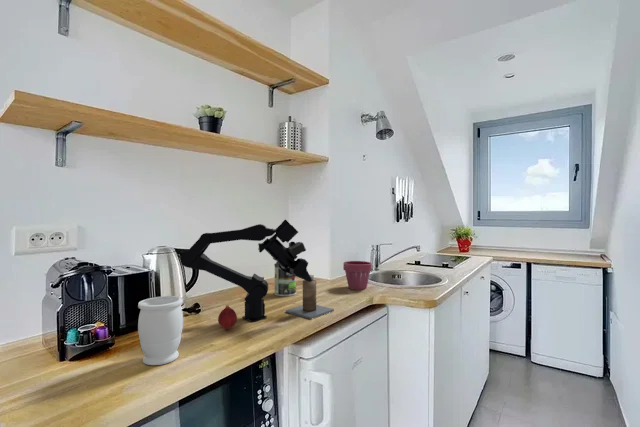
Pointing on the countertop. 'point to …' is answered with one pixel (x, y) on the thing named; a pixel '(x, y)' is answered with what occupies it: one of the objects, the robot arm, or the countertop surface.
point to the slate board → (299, 312)
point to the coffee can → (284, 283)
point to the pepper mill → (309, 295)
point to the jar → (160, 328)
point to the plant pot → (357, 274)
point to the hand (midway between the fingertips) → (305, 278)
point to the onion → (227, 318)
